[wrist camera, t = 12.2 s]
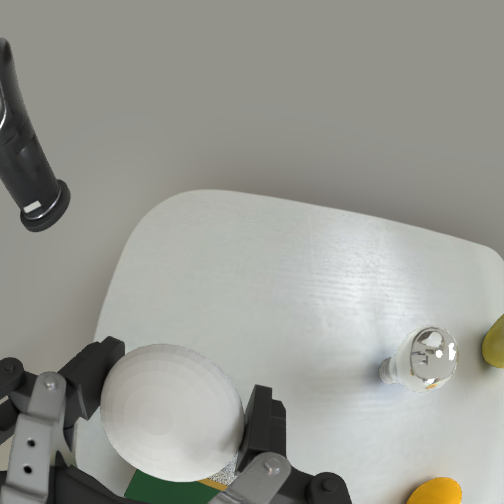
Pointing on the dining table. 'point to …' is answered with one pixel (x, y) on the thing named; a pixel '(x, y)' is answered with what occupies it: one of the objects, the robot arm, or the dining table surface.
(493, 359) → the flower pot
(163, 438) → the lollipop
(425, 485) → the orange
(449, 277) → the dining table surface
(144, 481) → the sponge
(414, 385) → the light bulb
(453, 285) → the dining table surface
